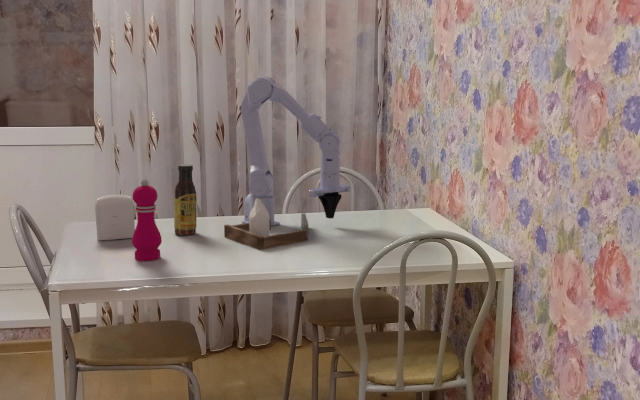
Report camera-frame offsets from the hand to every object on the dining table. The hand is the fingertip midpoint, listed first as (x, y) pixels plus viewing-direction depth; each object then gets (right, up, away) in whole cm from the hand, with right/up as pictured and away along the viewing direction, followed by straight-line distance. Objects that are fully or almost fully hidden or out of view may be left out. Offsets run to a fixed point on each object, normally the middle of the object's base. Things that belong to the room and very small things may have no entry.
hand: (329, 217), depth 211 cm
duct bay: (-18, -6, -15) cm, 24 cm away
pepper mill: (-46, -9, -34) cm, 58 cm away
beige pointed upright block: (-20, -6, -16) cm, 26 cm away
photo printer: (-60, -6, -15) cm, 62 cm away
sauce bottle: (-41, -5, -9) cm, 43 cm away
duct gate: (-7, -4, -7) cm, 11 cm away
